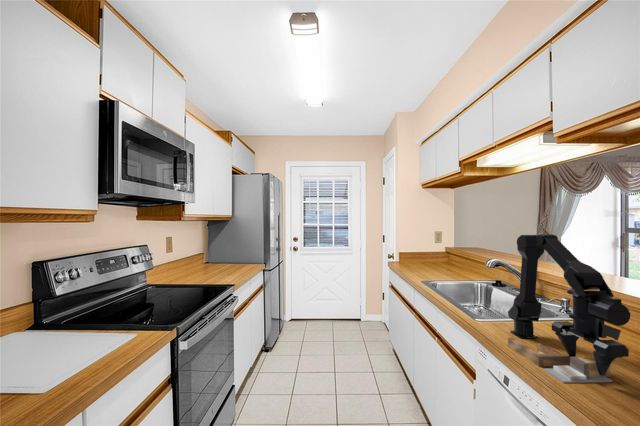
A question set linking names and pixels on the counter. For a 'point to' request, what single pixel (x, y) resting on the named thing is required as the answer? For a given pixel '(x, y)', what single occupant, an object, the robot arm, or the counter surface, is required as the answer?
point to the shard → (545, 350)
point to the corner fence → (539, 355)
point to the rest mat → (566, 380)
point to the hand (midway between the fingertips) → (586, 366)
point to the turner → (581, 369)
